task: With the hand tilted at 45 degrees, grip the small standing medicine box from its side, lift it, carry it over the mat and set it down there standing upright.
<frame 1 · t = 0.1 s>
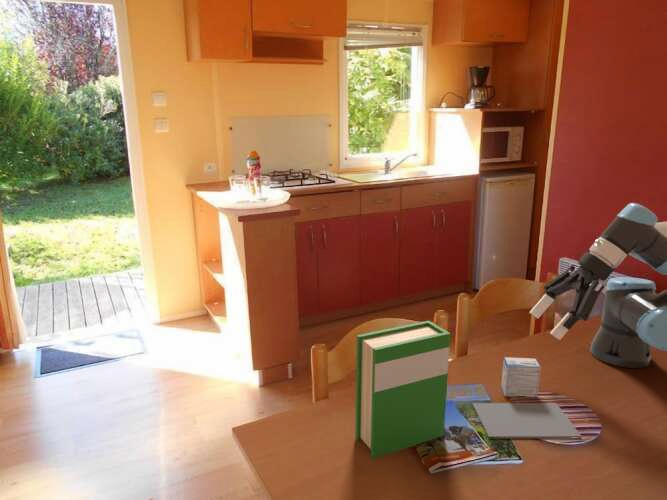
hand: (543, 325, 132), 15 cm above the table, tool tilted 35°, fingers open, 13 cm apart
hardback book: (399, 438, 112), on the table
mat: (524, 420, 118), on the table
medicine box: (518, 393, 129), on the table
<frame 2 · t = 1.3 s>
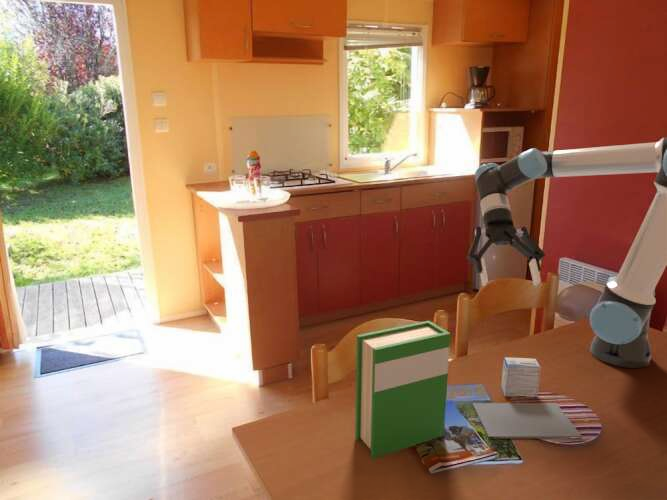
hand: (511, 283, 133), 25 cm above the table, tool tilted 45°, fingers open, 13 cm apart
nothing on the table moved.
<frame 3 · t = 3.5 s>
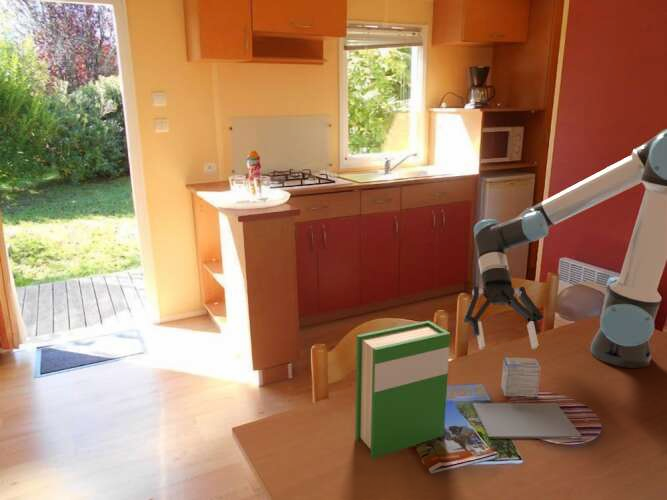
hand: (508, 347, 132), 10 cm above the table, tool tilted 45°, fingers open, 13 cm apart
nothing on the table moved.
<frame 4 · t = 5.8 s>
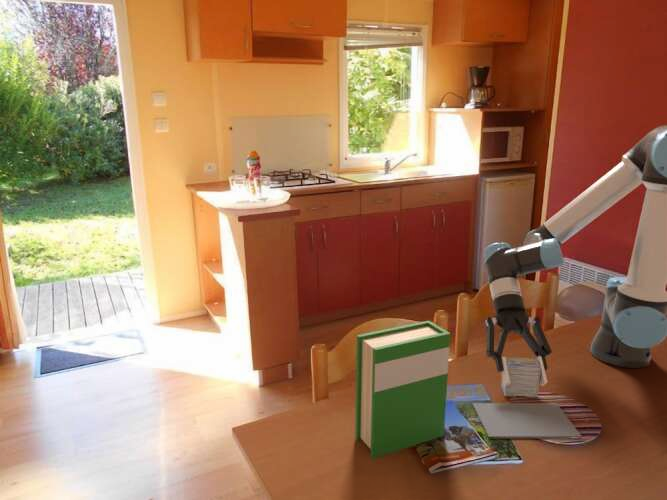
hand: (525, 384, 125), 4 cm above the table, tool tilted 45°, fingers closed on medicine box, 8 cm apart
medicine box: (518, 393, 129), on the table, touching gripper
everything else where it was.
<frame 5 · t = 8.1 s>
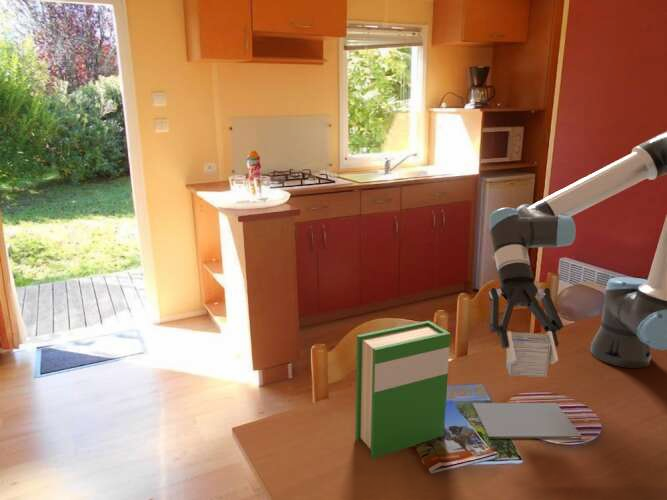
hand: (533, 362, 111), 16 cm above the table, tool tilted 45°, fingers closed on medicine box, 8 cm apart
medicine box: (525, 373, 116), point 11 cm above the table, touching gripper
everything else where it was.
when the fingers open (6 cm above the table, at t = 10.4 s): medicine box drops 1 cm, resting on mat.
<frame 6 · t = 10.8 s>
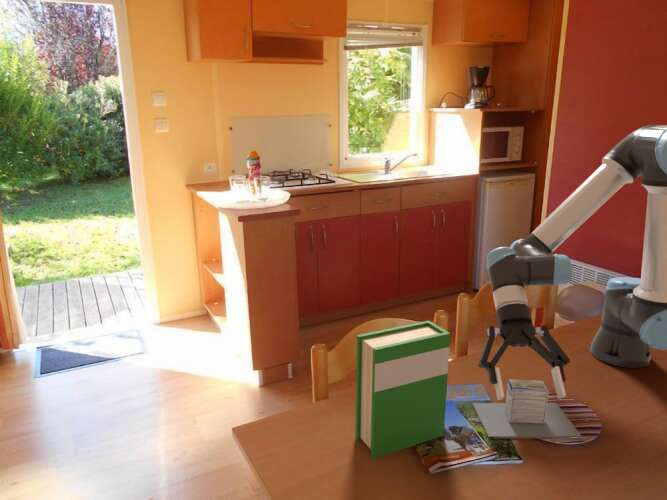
hand: (531, 398, 114), 7 cm above the table, tool tilted 45°, fingers open, 13 cm apart
medicine box: (524, 419, 118), resting on mat
everything else where it was.
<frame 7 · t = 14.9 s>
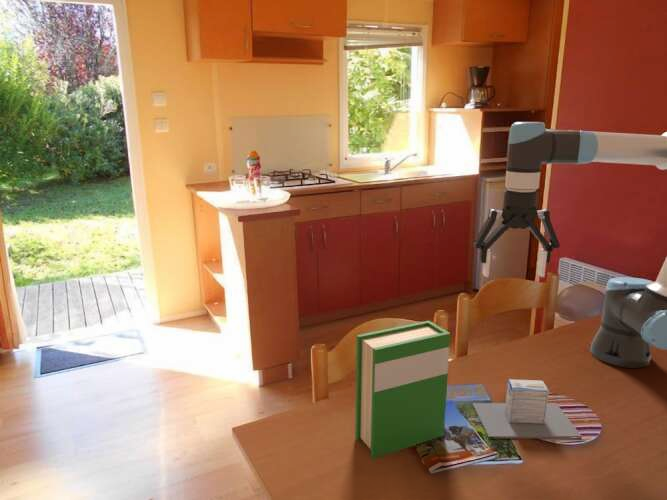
hand: (513, 275, 128), 29 cm above the table, tool pointing down, fingers open, 13 cm apart
nothing on the table moved.
at the end: medicine box inside the target area on the mat (0.1 cm from its centre), point 0.3 cm above the mat's base; medicine box tilted 0°; the gripper is holding nothing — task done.
